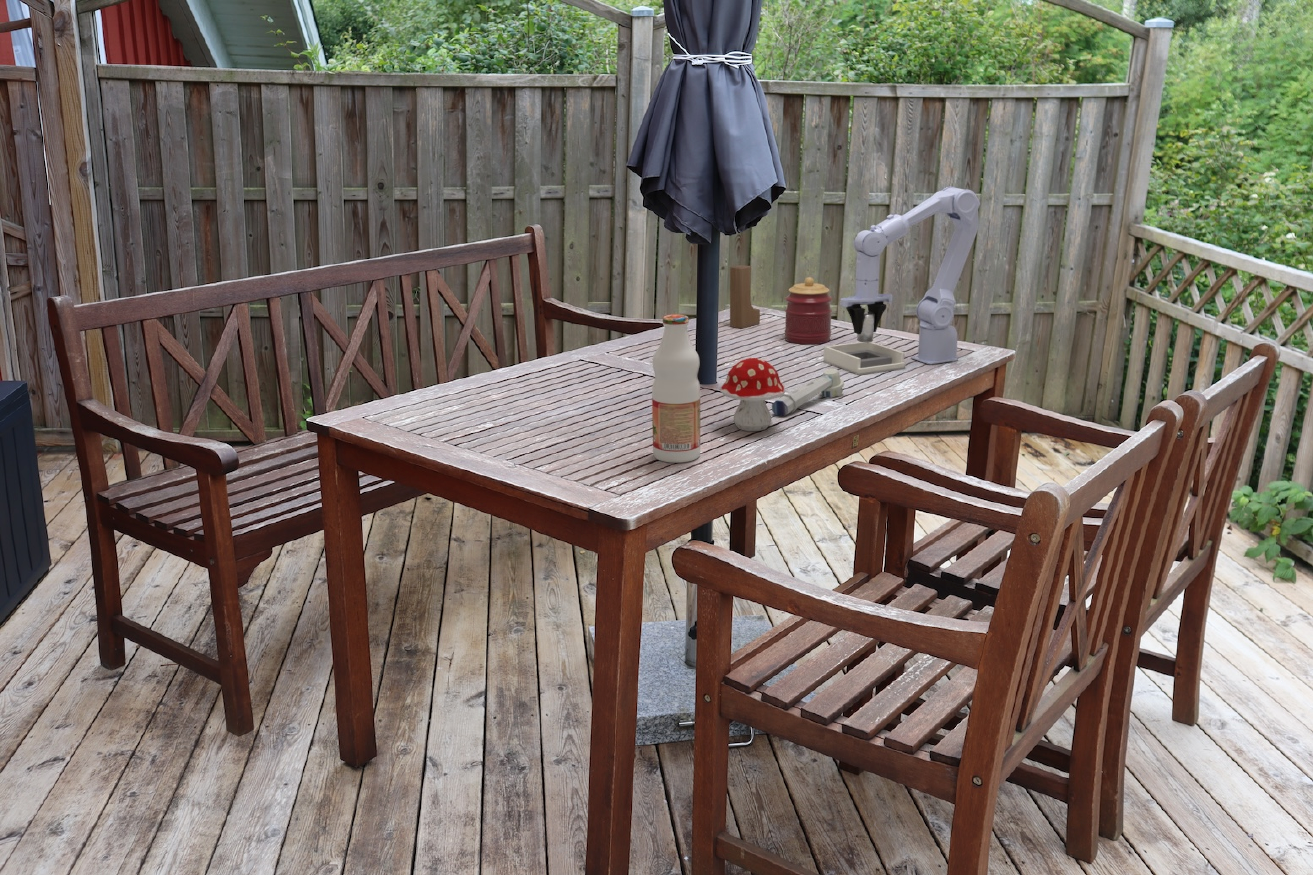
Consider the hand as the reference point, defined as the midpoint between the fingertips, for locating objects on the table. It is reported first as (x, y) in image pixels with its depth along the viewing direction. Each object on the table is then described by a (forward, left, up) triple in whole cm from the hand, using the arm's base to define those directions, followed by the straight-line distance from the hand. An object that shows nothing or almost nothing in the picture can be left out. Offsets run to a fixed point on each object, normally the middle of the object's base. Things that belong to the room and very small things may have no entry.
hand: (865, 332), depth 298 cm
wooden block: (+2, -57, -9) cm, 58 cm away
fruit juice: (+75, +44, -9) cm, 88 cm away
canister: (-4, -32, -9) cm, 33 cm away
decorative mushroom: (+52, +34, -9) cm, 63 cm away
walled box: (0, 0, -8) cm, 8 cm away
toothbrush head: (+32, +24, -9) cm, 41 cm away
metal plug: (0, 0, -2) cm, 2 cm away
